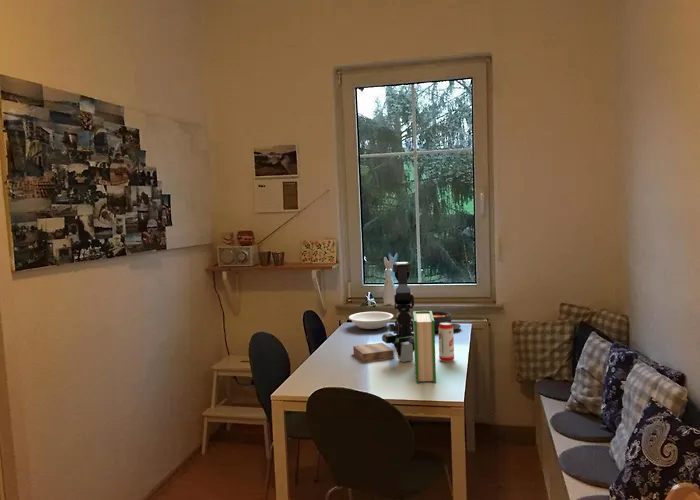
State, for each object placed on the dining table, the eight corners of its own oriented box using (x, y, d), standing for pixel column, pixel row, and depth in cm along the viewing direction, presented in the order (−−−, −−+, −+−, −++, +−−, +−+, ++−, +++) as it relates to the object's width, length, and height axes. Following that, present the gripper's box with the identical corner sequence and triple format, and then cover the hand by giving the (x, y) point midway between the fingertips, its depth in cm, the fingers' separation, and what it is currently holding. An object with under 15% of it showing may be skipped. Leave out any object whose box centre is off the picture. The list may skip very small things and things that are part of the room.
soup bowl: (365, 321, 322) (365, 310, 322) (402, 325, 308) (401, 313, 308) (340, 330, 303) (339, 318, 302) (378, 335, 289) (377, 322, 288)
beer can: (455, 358, 243) (454, 322, 242) (453, 362, 237) (452, 325, 236) (440, 357, 245) (439, 321, 244) (438, 362, 239) (437, 324, 238)
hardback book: (436, 383, 213) (434, 320, 211) (416, 383, 214) (414, 320, 211) (433, 368, 230) (431, 310, 228) (414, 369, 231) (413, 311, 229)
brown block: (382, 351, 261) (382, 342, 261) (393, 359, 248) (393, 350, 248) (353, 354, 257) (353, 346, 257) (363, 363, 244) (363, 353, 244)
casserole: (462, 326, 301) (461, 310, 301) (459, 334, 284) (458, 318, 283) (415, 325, 308) (415, 310, 307) (409, 333, 290) (409, 317, 290)
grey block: (408, 357, 246) (408, 341, 246) (413, 360, 242) (412, 344, 241) (397, 358, 245) (397, 343, 244) (402, 361, 240) (401, 345, 239)
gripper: (416, 314, 252) (417, 348, 253) (377, 318, 246) (378, 354, 248) (427, 319, 241) (428, 355, 243) (386, 324, 236) (387, 360, 237)
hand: (405, 356), depth 243 cm, fingers closed on grey block, 5 cm apart
